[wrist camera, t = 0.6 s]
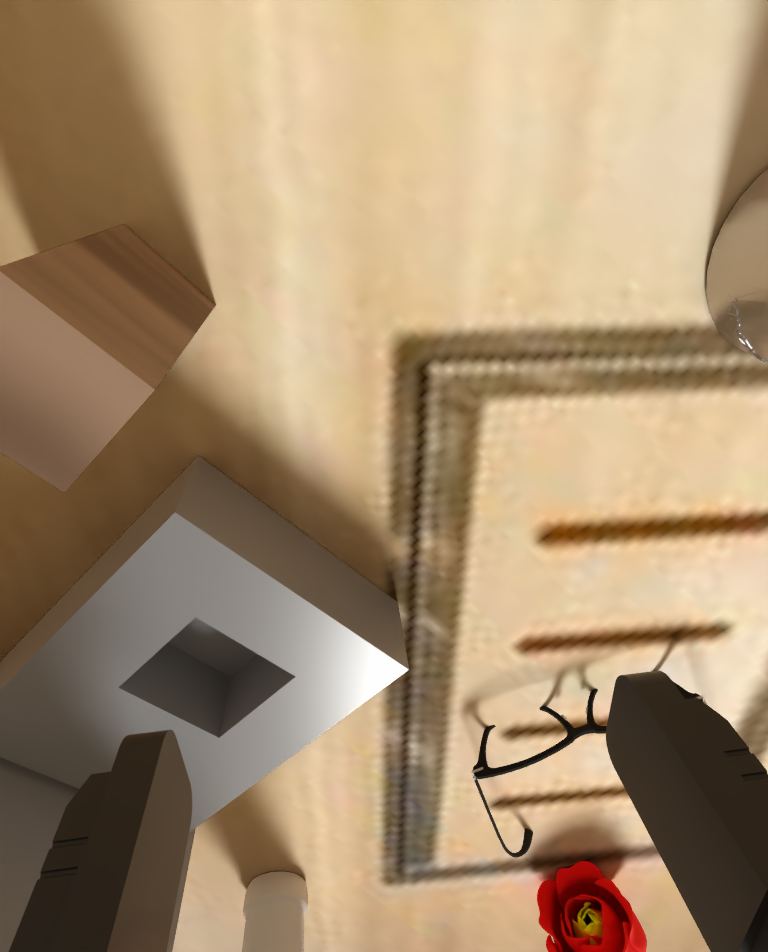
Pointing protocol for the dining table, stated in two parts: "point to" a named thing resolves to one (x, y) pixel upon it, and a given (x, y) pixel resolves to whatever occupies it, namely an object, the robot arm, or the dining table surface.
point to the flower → (587, 913)
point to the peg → (86, 346)
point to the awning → (37, 841)
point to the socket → (199, 646)
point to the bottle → (275, 913)
